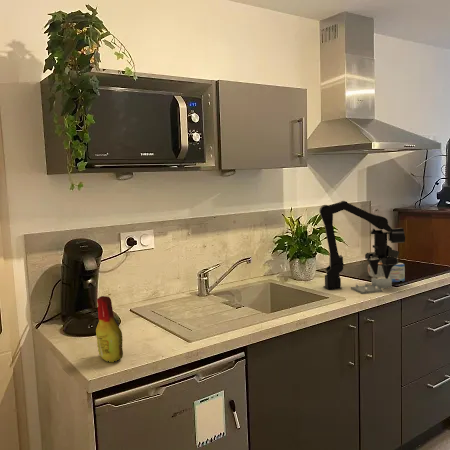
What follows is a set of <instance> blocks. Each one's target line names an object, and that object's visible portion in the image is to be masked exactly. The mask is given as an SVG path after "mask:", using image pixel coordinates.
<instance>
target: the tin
mask: <svg viewBox="0 0 450 450" xmlns="http://www.w3.org/2000/svg"><path fill="white" fill-rule="evenodd" d="M381 264H382V261H381V262H380V261H379V263H378V272H377V275H375V274H374V272H373V270H372V268H371V266H370V264H369V263H368V262H367V265H366V270H367V274H368V275H369V277H370V278H373V277H380V276H385V275H384V272H383V268H382V265H381Z"/></svg>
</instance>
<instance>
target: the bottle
mask: <svg viewBox="0 0 450 450" xmlns="http://www.w3.org/2000/svg"><path fill="white" fill-rule="evenodd" d="M111 299H112V298H110V296H107V295H101V296H99V297H98V298H97V299H96V302H97V313H98V315H97V317H98V323H97V326H96V329H95V333H96V334H95V335H96V345H97V347H96V348H97V349H98V350H97V352H98V355H99V357H100V358H101V359H102V360H104V361H105V362H108V361H109V363H115V362H114V361H116V362H118V361H120V360H121V359H122V358H123V357H124V351H123V350H124V349H123V341H124V340H123V332H122V330H121V328H120V326H119V324H118V322H116V321H115V317H114V310H113V304H112V300H111ZM119 359H120V360H119ZM117 360H118V361H117Z"/></svg>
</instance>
